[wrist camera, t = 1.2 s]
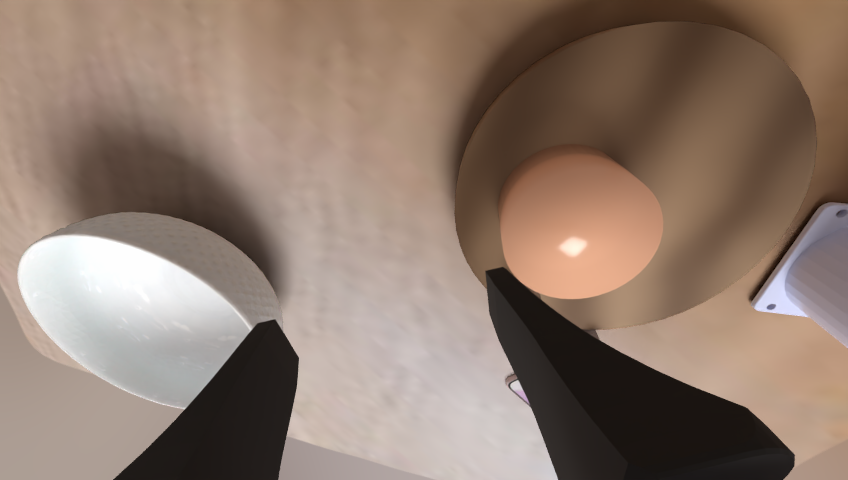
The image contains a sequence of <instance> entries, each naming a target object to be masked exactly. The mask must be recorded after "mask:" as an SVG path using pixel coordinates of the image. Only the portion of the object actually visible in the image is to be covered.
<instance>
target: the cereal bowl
mask: <svg viewBox="0 0 848 480" xmlns="http://www.w3.org/2000/svg"><path fill="white" fill-rule="evenodd" d="M17 273H18V284H19V288H20V291H21V294H22V297H23V299H24V301H25V303H26V305H27V307H28V309H29V311H30V312H31V314H32V316H33V317H34V318H35V320H36V321H37V322H38V324H39V325H40V326H41V328H42V329H43V330H44V332H45V333H46V334H47V335H48V336H49V337H50V338H51V339H52V340H53V341H54V342H55V343H56V344H57V345H58V346H59V347H60V348H61V349H62V350H63V351H64V352H66V353H67V354H68V355H69V356H70V357H71V358H73V359H74V360H75V361H77V362H78V363H79V364H81V365H82V366H83V367H85V368H86V369H88V370H89V371H91V372H92V373H94V374H95V375H97V376H99V377H100V378H102V379H104V380H105V381H107V382H109V383H111V384H113V385H114V386H116V387H118V388H120V389H123V390H125V391H127V392H129V393H131V394H134V395H137V396H139V397H141V398H144V399H147V400H150V401H152V402H156V403H159V404H163V405H167V406H171V407H176V408H182V409H186V408H187V407H188V405H189V404H190V403H191V402H192V401H193V400H194V399H195V397H196V396H197V395H198V394H199V393H200V392H201V391H202V389H203V388H204V387H205V386H206V385H207V384H208V383H209V381H210V380H211V379H212V378H213V377H214V375H215V374H216V373H217V372H218V371H219V369H220V368H221V367H222V366H223V364H224V363H225V362H226V361H227V360H228V358H229V357H230V356H231V355H232V353H233V352H234V351H235V350H236V348H237V347H238V346H239V345H240V343H241V342H242V341H243V340H244V339H245V337H246V336H247V335H248V334H249V332H250V331H251V330H252V329H253V328H254V327H255V325H256V324H257V323H260V322H265V321H269V320H274V319H276V321H277V323H278V324H279V326H280V328H281V329H282V331H283V319H282V312H281V309H280V305H279V302H278V299H277V296H276V295H275V293H274V290H273V287H272V286H271V285H270V283H269V281H268V280H267V279H266V277H265V275H264V274H263V272H262V271H260V270H259V268H258V266H256V264H255V263H254V262H252V260H251V259H250V258H248V257H247V255H246V254H244V253H243V252H242V251H241V250H239V249H238V248H237V247H236V246H234V245H233V244H232V243H231V242H228V241H227V240H226V239H224V238H222V237H221V236H219V235H217V234H215V233H214V232H212V231H210V230H208V229H205V228H204V227H202V226H198V225H196V224H194V223H192V222H188V221H184V220H182V219H179V218H174V217H171V216H166V215H160V214H151V213H146V212H142V213H137V212H119V213H115V214H106V215H102V216H96V217H94V218H90V219H84V220H82V221H80V222H77V223H73V224H70V225H68V226H67V227H65V228H61V229H59V230H57V231H55V232H53V233H51V234H49V235H46V236H44V237H42V238H41V239H39V240H38V241H36V242H35V243H33V244H32V245H30V246H29V247H28V249H27V250H26V251H25V252H24V254H23V255H22V257H21V259H20V261H19V265H18V270H17Z"/></svg>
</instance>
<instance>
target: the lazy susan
mask: <svg viewBox="0 0 848 480" xmlns="http://www.w3.org/2000/svg"><path fill="white" fill-rule="evenodd" d="M564 144H580V145H587V146H590V147H594V148H596V149H599V150H601V151H603V152H604V153H606V154H607V155H609V156H610V157H612V158H613V159H614V160H615V161H617V162H618V163H619V164H620V165H621V166H623V167H624V168H625V169H626V170H628V171H629V172H630V173H631V174H633V175H634V176H635V177H636V178H637V179H639V180H640V181H641V182H642V183H644V184H645V185H646V186H647V187H648V188H649V189H650V190H651V191H652V193H653V194H654V195H655V197H656V199H657V200H658V202H659V204H660V207H661V211H662V214H663V233H662V238H661V242H660V244H659V247H658V249H657V251H656V253H655V254H654V256H653V258H652V259H651V261H650V262H649V263H648V265H647V266H646V267H645V268H644V269H643V270H642V271H641V272H640V273H639V274H638V275H636V276H635V277H634V278H633V279H632V280H630V281H629V282H627V283H626V284H624V285H622V286H620V287H618V288H617V289H614V290H612V291H610V292H607V293H604V294H601V295H598V296H594V297H589V298H582V299H560V298H554V297H549V296H546V295H543V294H540V293H538V292H535V291H533V290H532V289H530V288H528V287H527V286H526V287H527V288H528V289H529V290H530V291H531V292H533V293H534V294H535V295H536V296H537V297H539V298H540V299H541V300H542V301H544V302H545V303H546V304H547V305H549V306H550V307H551V308H553V309H554V310H555V311H557V312H558V313H559V314H561V315H562V316H563V317H565V318H566V319H568V320H569V321H571V322H572V323H573V324H575V325H576V326H578V327H579V328H581V329H586V330H607V329H617V328H627V327H632V326H637V325H643V324H647V323H651V322H654V321H658V320H662V319H665V318H668V317H671V316H673V315H676V314H679V313H681V312H684V311H686V310H688V309H690V308H693V307H695V306H697V305H699V304H701V303H703V302H705V301H707V300H708V299H710V298H712V297H714V296H715V295H717V294H719V293H721V292H722V291H724V290H725V289H727V288H728V287H729V286H731V285H732V284H734V283H735V282H736V281H738V280H739V279H741V278H742V277H743V276H744V275H745V274H747V273H748V272H749V271H750V270H751V269H752V268H754V267H755V266H756V265H757V264H758V263H759V262H760V261H761V260H762V259H763V258H764V257H765V256H766V255H767V254H768V253H769V252H770V251H771V250H772V248H773V247H774V246H775V245H776V244H777V242H778V241H779V240H780V238H781V237H782V236H783V234H784V233H785V232H786V231H787V229H788V228H789V226H790V224H791V223H792V221H793V219H794V218H795V216H796V214H797V213H798V211H799V209H800V207H801V205H802V202H803V200H804V198H805V195H806V193H807V191H808V189H809V185H810V181H811V178H812V174H813V170H814V167H815V158H816V148H817V137H816V124H815V118H814V114H813V111H812V107H811V104H810V100H809V98H808V96H807V94H806V92H805V90H804V88H803V86H802V84H801V82H800V80H799V79H798V77H797V76H796V75H795V74H794V72H793V71H792V70H791V69H790V68H789V66H788V65H787V64H786V63H785V62H784V60H782V59H781V58H780V57H779V56H777V55H776V54H775V53H774V52H772V51H771V50H770V49H769V48H767V47H766V46H765V45H763V44H761V43H759V42H757V41H756V40H754V39H752V38H750V37H748V36H746V35H744V34H742V33H739V32H736V31H733V30H730V29H726V28H723V27H720V26H716V25H711V24H703V23H696V22H688V21H676V22H652V23H645V24H637V25H631V26H624V27H618V28H612V29H608V30H605V31H602V32H598V33H595V34H591V35H588V36H585V37H583V38H580V39H578V40H576V41H574V42H571V43H569V44H567V45H564V46H562V47H560V48H558V49H557V50H555V51H553V52H552V53H550V54H548V55H547V56H545V57H543V58H541V59H540V60H538V61H537V62H536V63H534V64H533V65H532V66H530V67H529V68H528V69H526V70H525V71H524V72H522V73H521V74H520V75H519V76H517V77H516V78H515V79H514V80H513V81H512V82H511V83H510V84H509V85H508V86H507V87H506V88H505V89H504V90H503V91H502V92H501V93H500V94H499V95H498V97H497V98H496V99H495V100H494V102H493V103H492V104H491V105H490V106H489V108H488V109H487V110H486V112H485V113H484V115H483V116H482V118H481V120H480V121H479V123H478V124H477V126H476V127H475V129H474V131H473V133H472V136H471V138H470V140H469V142H468V144H467V146H466V149H465V152H464V155H463V158H462V161H461V164H460V169H459V174H458V180H457V187H456V194H455V221H456V231H457V235H458V239H459V242H460V246H461V249H462V251H463V254H464V256H465V258H466V261H467V263H468V264H469V266H470V268H471V269H472V271H473V273H474V274H475V276H476V277H477V278H478V279H479V281H480V282H481V283H482V284H483V285H484V287H485V288H486V289H487V283H486V274H485V271H486V270H491V269H495V268H499V267H504V268H506V269H507V270H508V271H509V272H510V273H511V274H512V275H513V276H514V274H513V273H512V272H511V270H510V268H509V267H508V265H507V262H506V260H505V257H504V252H503V246H502V239H501V232H500V225H499V217H498V200H499V196H500V192H501V190H502V187H503V185H504V183H505V181H506V179H507V178H508V176H509V175H510V174H511V172H512V171H513V170H514V169H515V168H516V167H517V166H518V165H519V164H520V163H521V162H523V161H524V160H525V159H526V158H528V157H530V156H531V155H533V154H535V153H537V152H539V151H541V150H543V149H546V148H549V147H553V146H557V145H564ZM514 277H515V276H514ZM515 278H516V277H515ZM516 279H517V278H516ZM522 284H523V283H522ZM523 285H524V284H523ZM524 286H525V285H524Z"/></svg>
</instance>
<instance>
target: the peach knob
mask: <svg viewBox="0 0 848 480" xmlns="http://www.w3.org/2000/svg"><path fill="white" fill-rule="evenodd" d="M498 217H499V225H500V232H501V239H502V246H503V252H504V257H505V260H506V262H507V265H508V267H509V268H510V270H511V272H512V273H513V274H514V276H515V277H516V278H517V279H518V280H519V281H520V282H521V283H523V284H524V285H525V286H527V287H528V288H530V289H532V290H533V291H535V292H538V293H540V294H543V295H546V296H549V297H554V298H560V299H582V298H589V297H594V296H598V295H601V294H604V293H607V292H610V291H612V290H614V289H617V288H618V287H620V286H622V285H624V284H626V283H627V282H629V281H630V280H632V279H633V278H634V277H635V276H636V275H638V274H639V273H640V272H641V271H642V270H643V269H644V268H645V267H646V266H647V265H648V263H649V262H650V261H651V259H652V258H653V256H654V254H655V253H656V251H657V249H658V247H659V244H660V242H661V238H662V233H663V214H662V211H661V207H660V204H659V202H658V200H657V199H656V197H655V195H654V194H653V193H652V191H651V190H650V189H649V188H648V187H647V186H646V185H645V184H644V183H642V182H641V181H640V180H639V179H637V178H636V177H635V176H634V175H633V174H631V173H630V172H629V171H628V170H626V169H625V168H624V167H623V166H621V165H620V164H619V163H618V162H617V161H615V160H614V159H613V158H612V157H610V156H609V155H607V154H606V153H604V152H603V151H601V150H599V149H596V148H594V147H590V146H587V145H580V144H564V145H557V146H553V147H549V148H546V149H543V150H541V151H539V152H537V153H535V154H533V155H531V156H530V157H528V158H526V159H525V160H524V161H523V162H521V163H520V164H519V165H518V166H517V167H516V168H515V169H514V170H513V171H512V172H511V174H510V175H509V176H508V178H507V179H506V181H505V183H504V185H503V187H502V190H501V192H500V196H499V200H498Z"/></svg>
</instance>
